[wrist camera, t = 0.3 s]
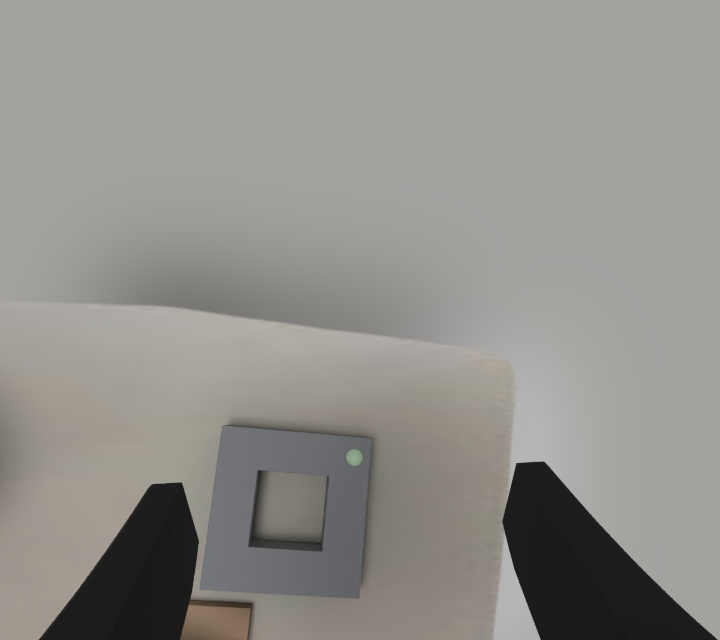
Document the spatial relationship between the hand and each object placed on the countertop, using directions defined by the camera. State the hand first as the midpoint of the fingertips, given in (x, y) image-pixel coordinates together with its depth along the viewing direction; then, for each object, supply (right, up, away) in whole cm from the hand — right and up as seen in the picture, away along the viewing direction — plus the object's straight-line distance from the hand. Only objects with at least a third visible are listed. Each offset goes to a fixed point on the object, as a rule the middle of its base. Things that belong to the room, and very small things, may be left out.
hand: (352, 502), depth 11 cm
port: (-5, -10, +27) cm, 30 cm away
